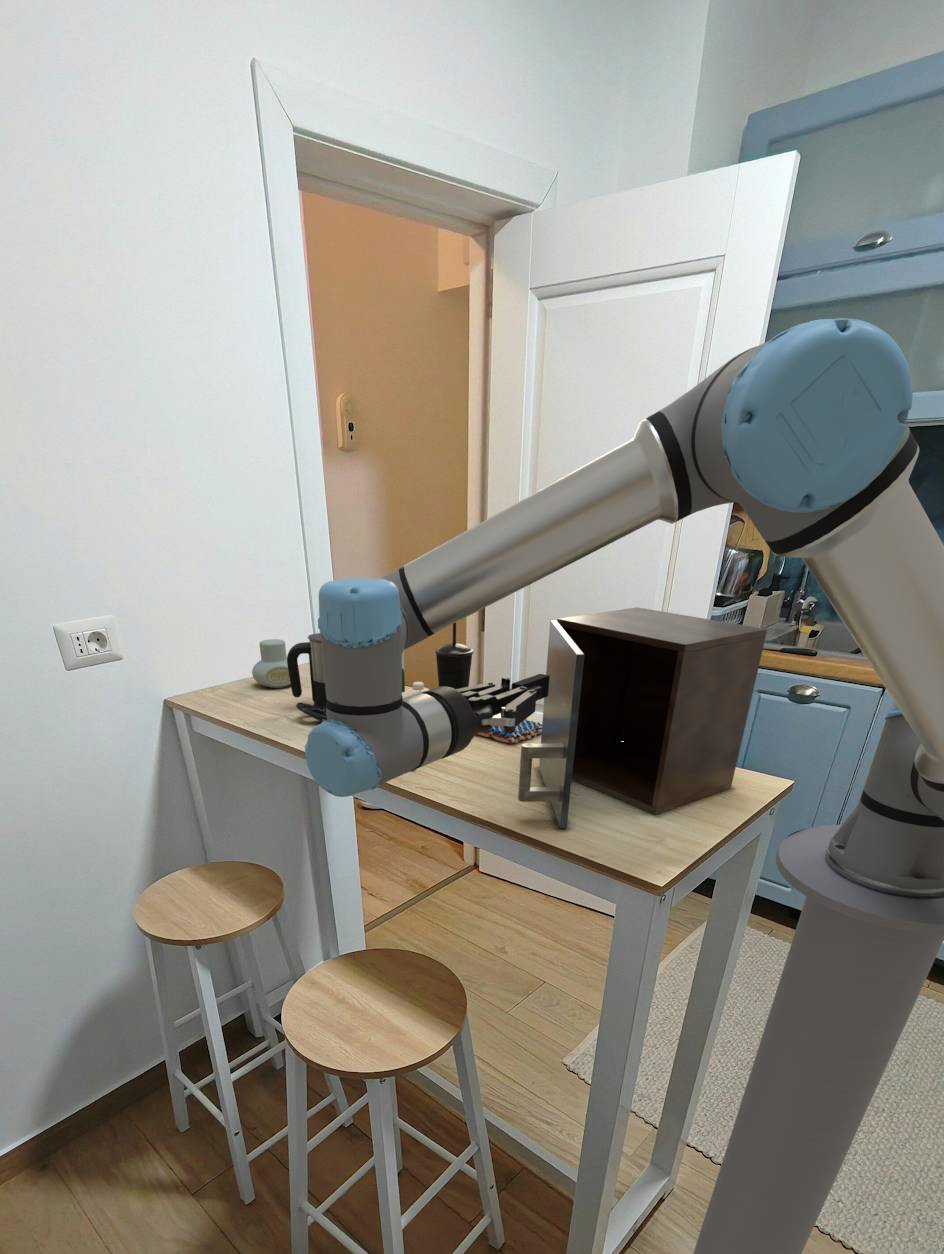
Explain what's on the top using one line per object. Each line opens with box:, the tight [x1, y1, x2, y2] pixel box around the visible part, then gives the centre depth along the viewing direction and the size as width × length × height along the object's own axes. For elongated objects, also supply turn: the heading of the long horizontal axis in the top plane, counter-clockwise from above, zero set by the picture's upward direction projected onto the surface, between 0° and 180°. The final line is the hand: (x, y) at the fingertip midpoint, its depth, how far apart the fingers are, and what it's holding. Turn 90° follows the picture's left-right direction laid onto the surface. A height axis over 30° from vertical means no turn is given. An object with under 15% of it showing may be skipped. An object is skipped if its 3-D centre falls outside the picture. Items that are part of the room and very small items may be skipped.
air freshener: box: [251, 638, 291, 689], centre depth 167 cm, size 11×8×10 cm
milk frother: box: [286, 632, 327, 723], centre depth 146 cm, size 14×16×15 cm
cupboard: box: [556, 607, 768, 816], centre depth 111 cm, size 18×24×24 cm
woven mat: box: [476, 718, 542, 744], centre depth 137 cm, size 10×11×2 cm
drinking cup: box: [434, 622, 475, 689], centre depth 140 cm, size 8×8×20 cm
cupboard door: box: [517, 619, 585, 829], centre depth 104 cm, size 7×24×24 cm, turn 0°
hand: (544, 685), depth 94 cm, fingers closed
